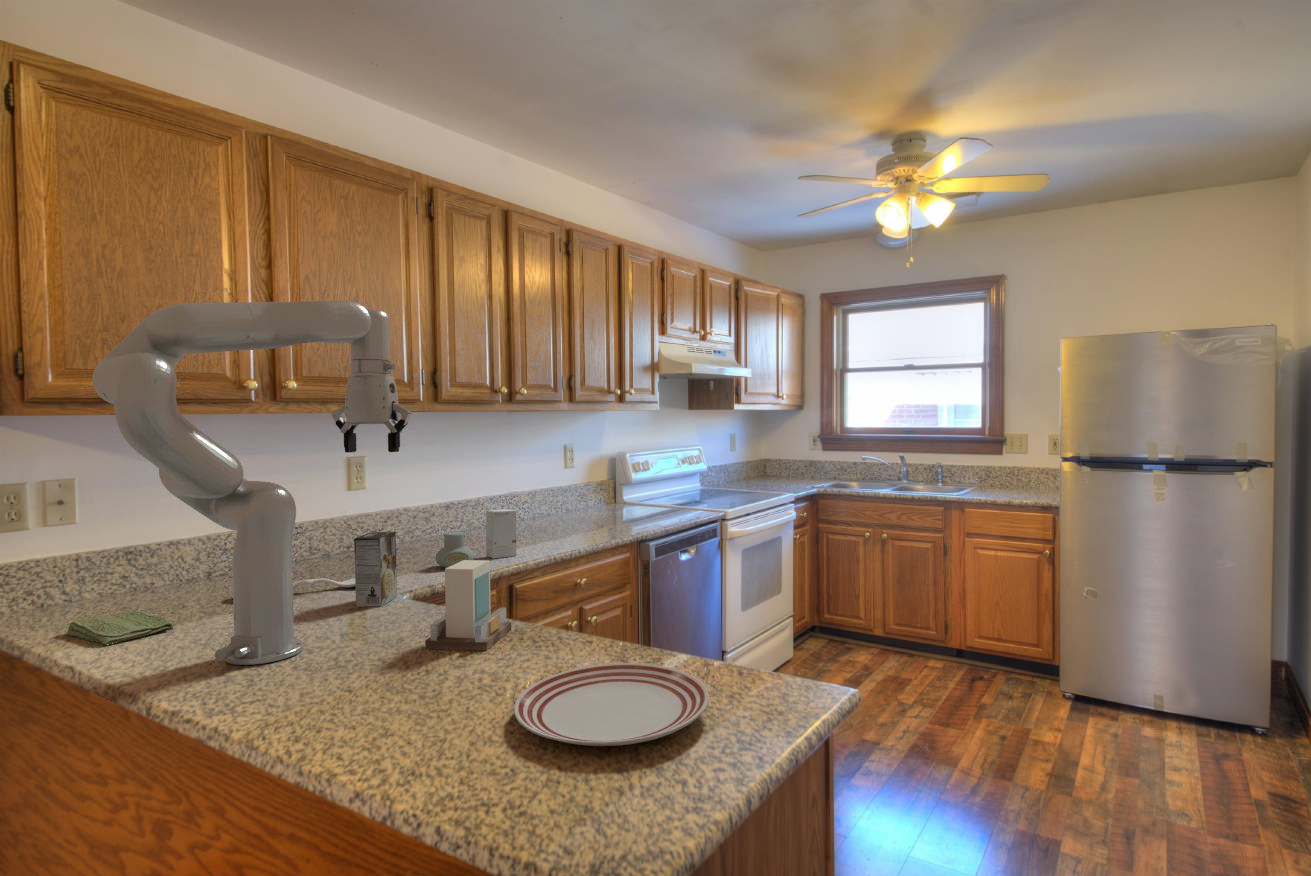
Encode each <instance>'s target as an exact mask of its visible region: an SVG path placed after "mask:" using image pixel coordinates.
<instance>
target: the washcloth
mask: <svg viewBox="0 0 1311 876" xmlns="http://www.w3.org/2000/svg"><path fill="white" fill-rule="evenodd" d="M164 630H168V631H171V630H174V624H173V622H172V620H170V619H168V618H166V616H165V617H164V616H160V615H156V614H149V613H146V612H145V611H138V610H132V611H125V612H119V613H115V614H114V613H111V614H109V615H106V616H99V617H90V618H87V619H79V620H74V621H71V622H70V624H69V627H68V629H67V632H66V633H67V634H68V635H69V636H71V637H75V638H76V637H77V638H76V639H81V640H84V639H86V640H85V641H89V640H90V641H89V642H93V643H97V644H100V645H103V644H105V645H104V646H108V645H107V644H112V643H116V642H120V641H124V642H126V641H125V640H128V641H130V640H129V639H132V640H135V638H136V639H139V638H138V637H140V638H143V637H146V635H147V636H150V635H153V634H152V633H155V634H158V633H157V632H159V633H162V632H161V631H163V632H165V631H164ZM149 634H150V635H149ZM142 636H143V637H142ZM120 643H121V642H120ZM116 644H117V643H116ZM112 645H113V644H112Z"/></svg>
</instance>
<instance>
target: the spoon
mask: <svg viewBox="0 0 1311 876" xmlns="http://www.w3.org/2000/svg"><path fill="white" fill-rule="evenodd" d="M318 583H325V584H331V585H334V586H337V587H340V588H345V589H346V588H347V589H349V588H354V587H355V577H353V578H350V579H347V580H343V581H336V580H334V579H329V578H323V577H321V578H311V579H302V580H298V581H295V582H293V588H295V587H297V586H302V585H312V584H318ZM231 595H232V596H233V590H232V592H231Z"/></svg>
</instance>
